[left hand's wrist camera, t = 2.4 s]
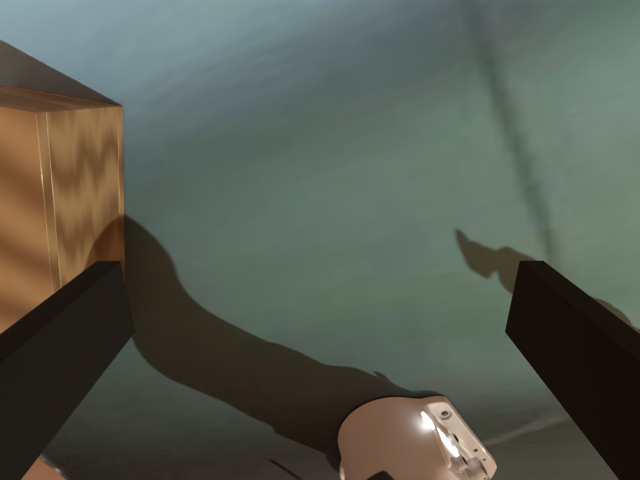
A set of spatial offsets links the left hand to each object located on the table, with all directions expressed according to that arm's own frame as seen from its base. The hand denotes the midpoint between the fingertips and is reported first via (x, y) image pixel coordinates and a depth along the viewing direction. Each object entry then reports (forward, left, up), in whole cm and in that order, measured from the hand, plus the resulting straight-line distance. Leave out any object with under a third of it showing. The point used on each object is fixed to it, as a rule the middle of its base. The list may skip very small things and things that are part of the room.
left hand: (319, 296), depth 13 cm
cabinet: (+1, -26, -27) cm, 37 cm away
